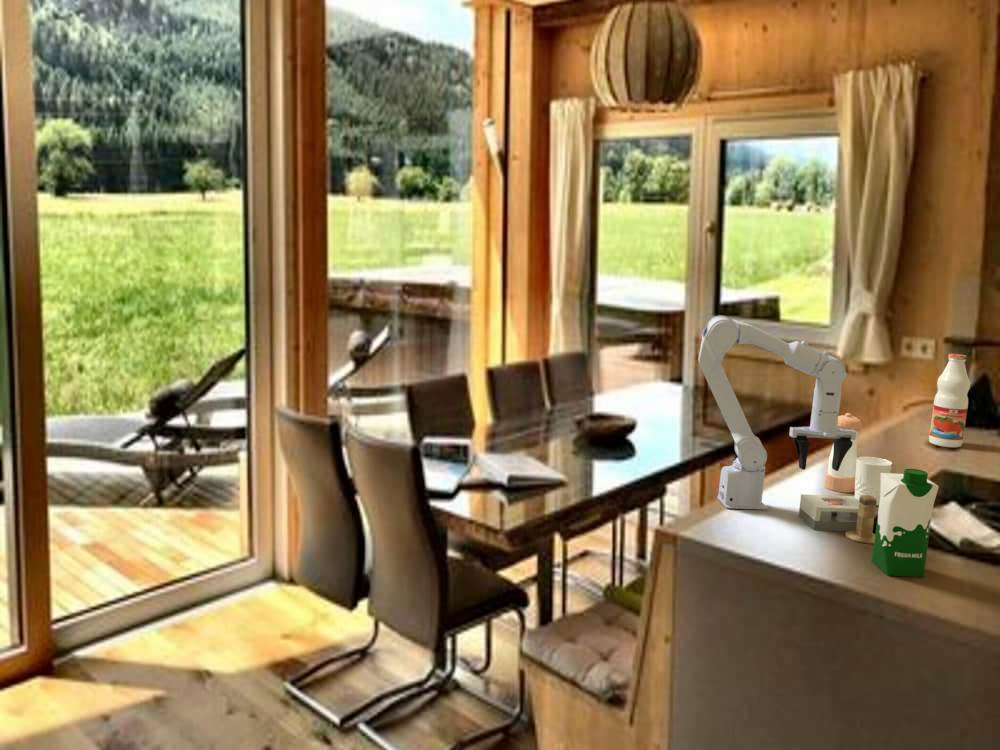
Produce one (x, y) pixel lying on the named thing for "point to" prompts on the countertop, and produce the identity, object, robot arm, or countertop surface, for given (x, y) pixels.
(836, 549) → the countertop surface
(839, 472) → the pepper shaker
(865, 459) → the white cup
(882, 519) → the milk carton
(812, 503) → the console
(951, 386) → the fruit juice
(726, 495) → the robot arm
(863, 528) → the stick
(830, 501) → the button
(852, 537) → the coaster
